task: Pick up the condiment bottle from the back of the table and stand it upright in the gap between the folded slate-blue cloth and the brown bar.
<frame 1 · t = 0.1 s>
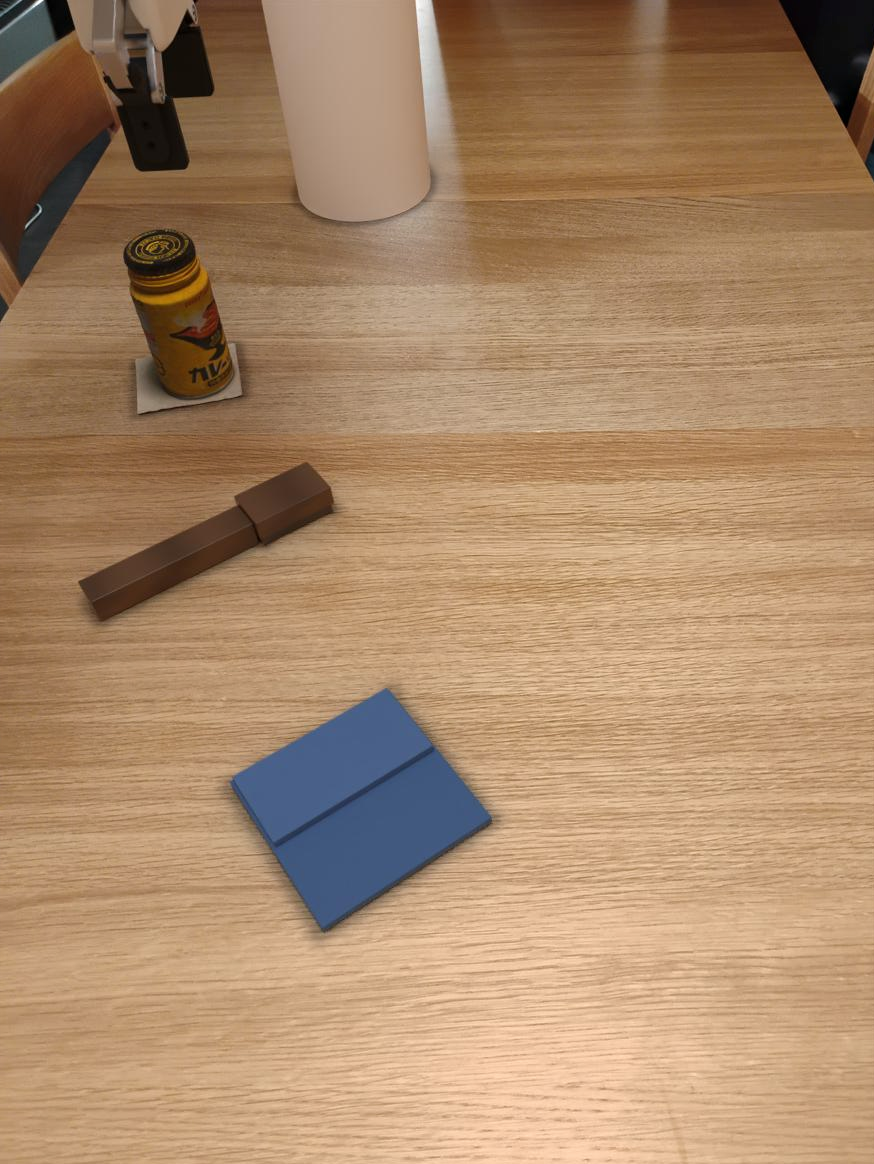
hand: (178, 130, 63), 22 cm above the table, tool pointing down, fingers open, 9 cm apart
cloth: (359, 804, 58), on the table
brown bar: (214, 552, 71), on the table
condiment: (189, 381, 83), on the table
canister: (365, 188, 102), on the table
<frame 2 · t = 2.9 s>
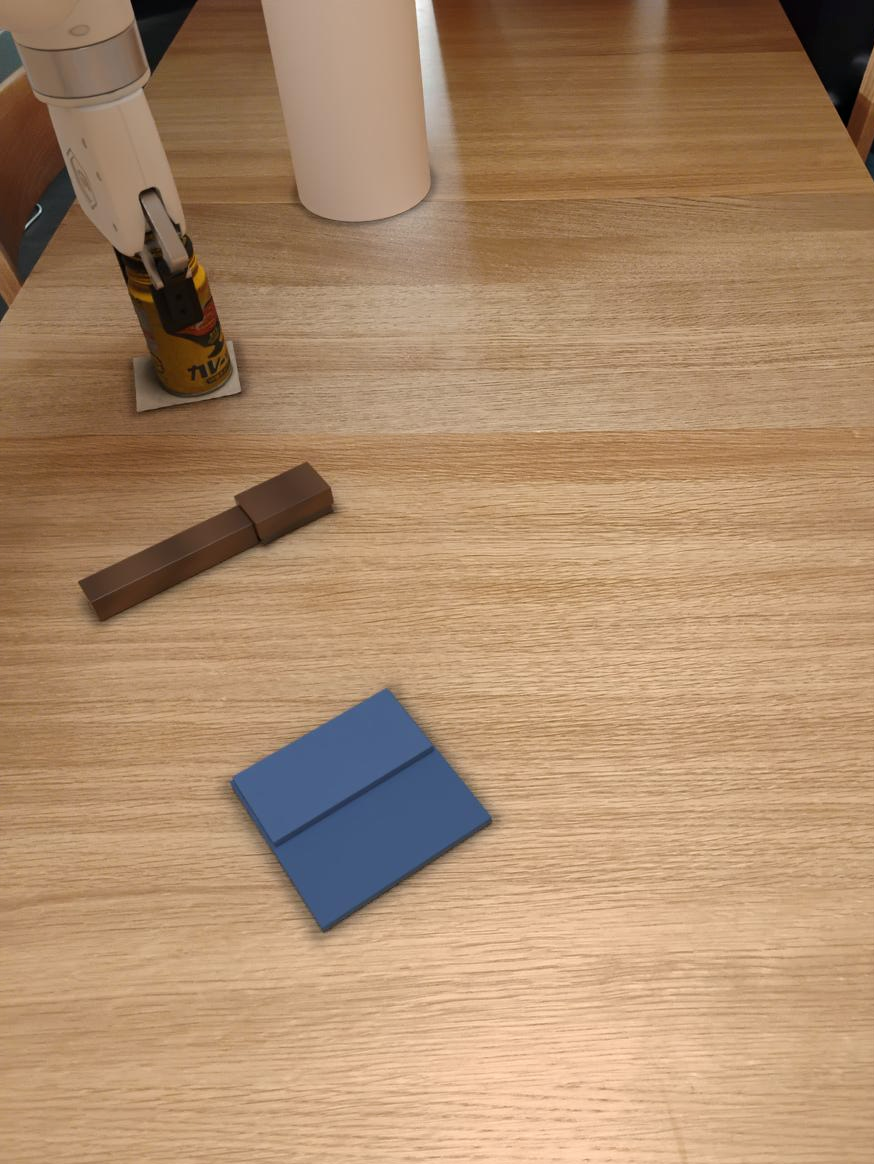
hand: (165, 303, 78), 7 cm above the table, tool pointing down, fingers closed on condiment, 6 cm apart
condiment: (187, 379, 84), on the table, touching gripper
everything else where it was.
when the fingers open (7 cm above the table, at t = 10.6 s): condiment stays where it is, on the table.
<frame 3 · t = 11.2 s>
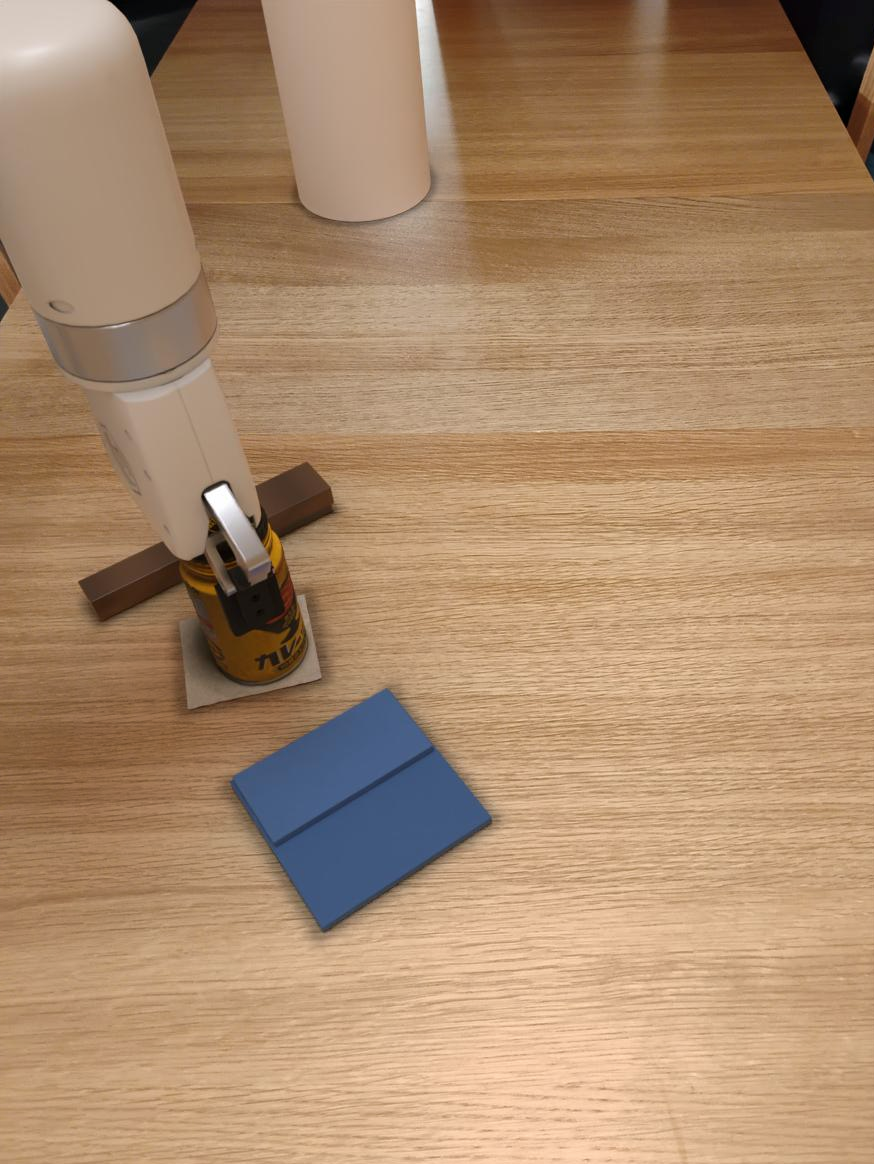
hand: (220, 570, 58), 8 cm above the table, tool pointing down, fingers open, 9 cm apart
condiment: (250, 653, 65), on the table
everything else where it was.
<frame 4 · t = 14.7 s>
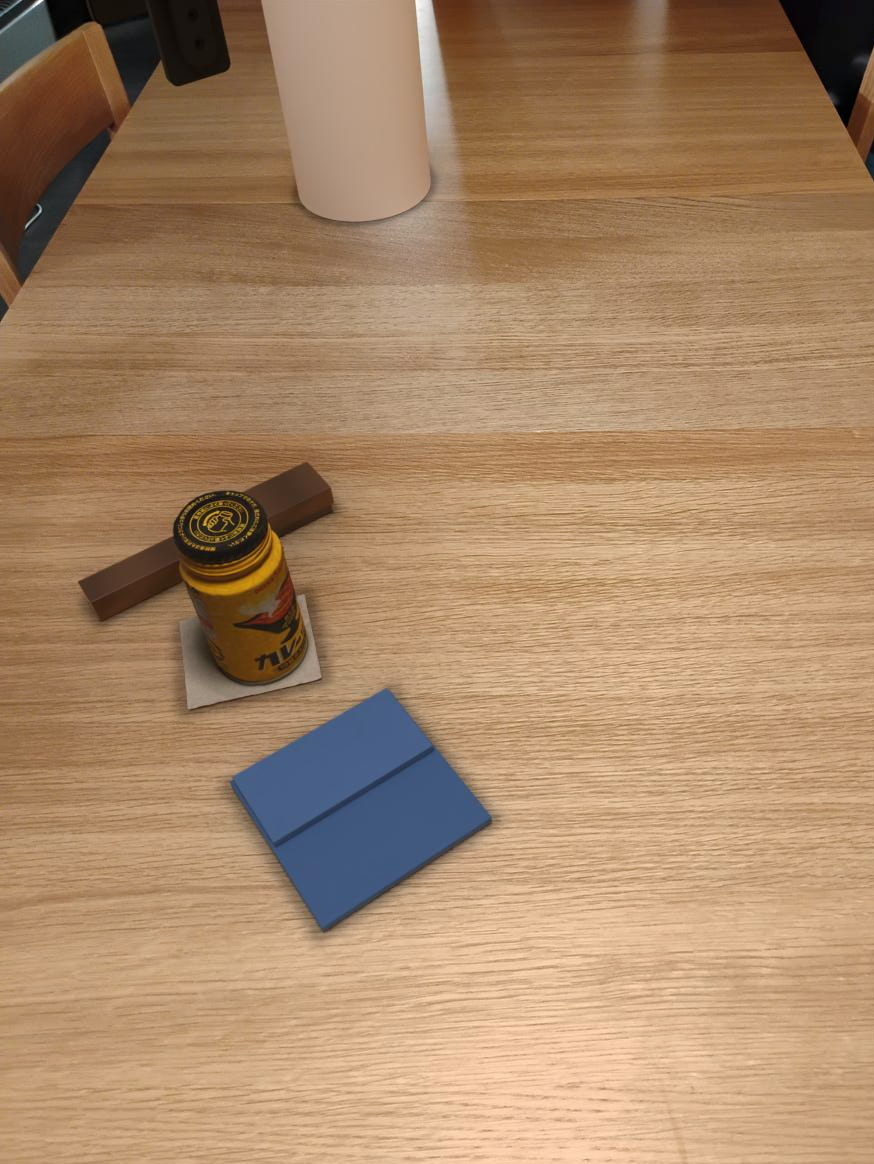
hand: (159, 45, 51), 30 cm above the table, tool pointing down, fingers open, 9 cm apart
nothing on the table moved.
at the end: condiment inside the target area on the table beside the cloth (0.5 cm from its centre), on the table; condiment tilted 0°; the gripper is holding nothing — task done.
